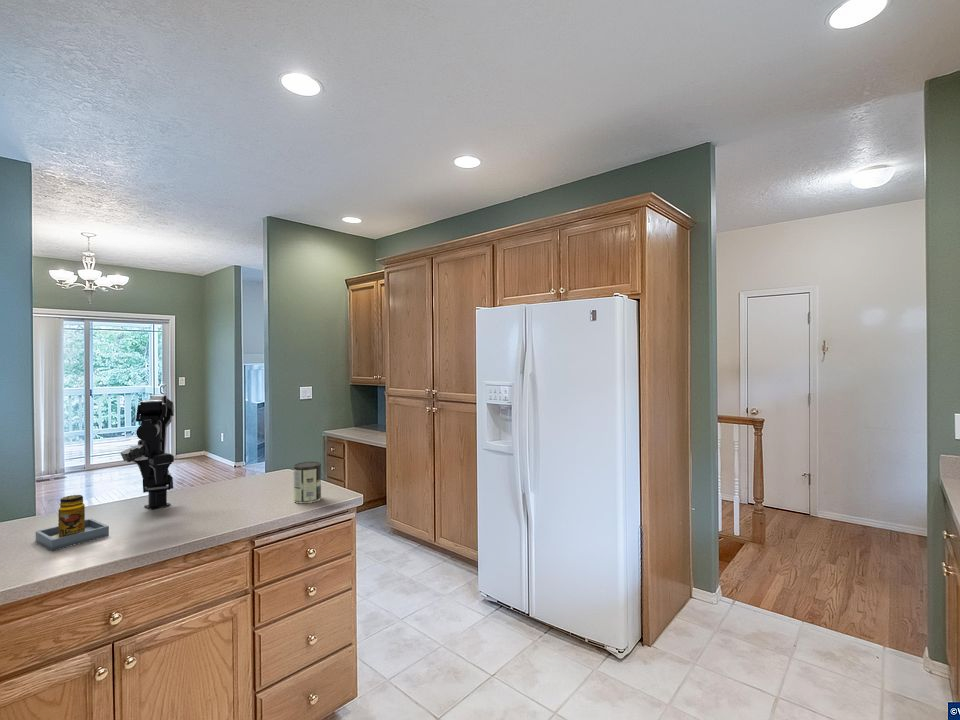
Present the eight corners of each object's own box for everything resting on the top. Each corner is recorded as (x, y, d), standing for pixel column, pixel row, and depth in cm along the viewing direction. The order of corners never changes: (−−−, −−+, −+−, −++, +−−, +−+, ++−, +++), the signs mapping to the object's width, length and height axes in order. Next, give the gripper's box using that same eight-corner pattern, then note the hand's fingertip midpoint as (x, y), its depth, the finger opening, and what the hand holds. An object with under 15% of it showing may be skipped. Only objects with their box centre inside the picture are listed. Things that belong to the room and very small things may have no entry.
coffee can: (309, 494, 189) (309, 460, 189) (326, 498, 184) (326, 463, 184) (287, 501, 181) (287, 465, 181) (304, 505, 175) (304, 468, 175)
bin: (35, 541, 140) (35, 531, 140) (91, 527, 152) (91, 518, 152) (51, 550, 133) (51, 540, 133) (108, 535, 145) (108, 526, 145)
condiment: (66, 541, 138) (66, 501, 138) (46, 538, 140) (47, 498, 140) (93, 532, 145) (93, 494, 145) (74, 529, 147) (74, 492, 147)
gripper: (111, 437, 158) (111, 483, 158) (137, 442, 148) (136, 491, 148) (148, 433, 167) (148, 476, 167) (174, 437, 158) (174, 483, 158)
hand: (151, 481), depth 160 cm, fingers open, 9 cm apart
